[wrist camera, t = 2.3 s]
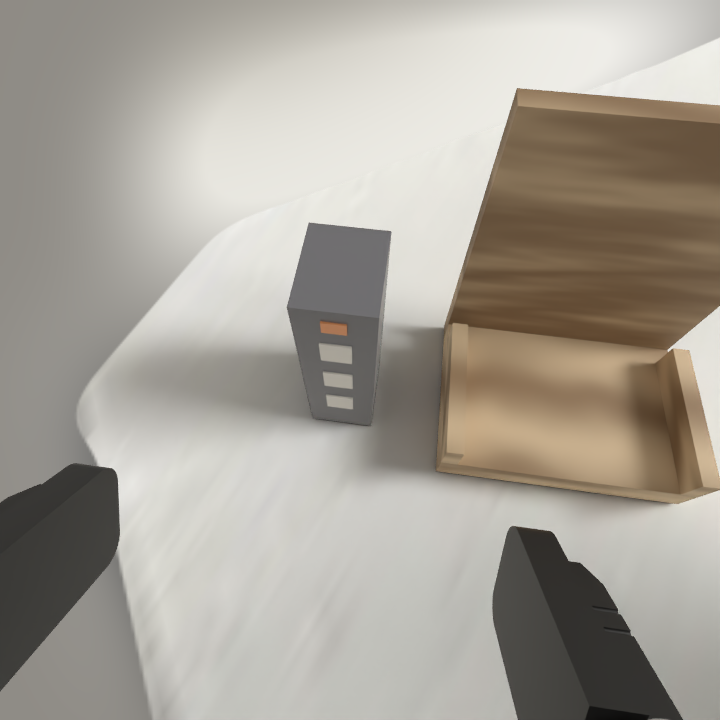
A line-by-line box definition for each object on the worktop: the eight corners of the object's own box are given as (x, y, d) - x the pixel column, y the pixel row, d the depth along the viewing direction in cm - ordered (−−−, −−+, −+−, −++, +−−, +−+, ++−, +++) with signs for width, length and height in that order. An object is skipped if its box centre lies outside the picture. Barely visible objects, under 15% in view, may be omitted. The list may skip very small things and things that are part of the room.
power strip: (370, 427, 31) (378, 320, 19) (312, 419, 31) (286, 309, 20) (379, 361, 33) (391, 231, 22) (325, 354, 34) (308, 222, 22)
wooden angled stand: (677, 504, 29) (1074, 372, 13) (435, 471, 29) (527, 309, 14) (648, 349, 34) (902, 121, 18) (444, 325, 35) (517, 88, 19)
